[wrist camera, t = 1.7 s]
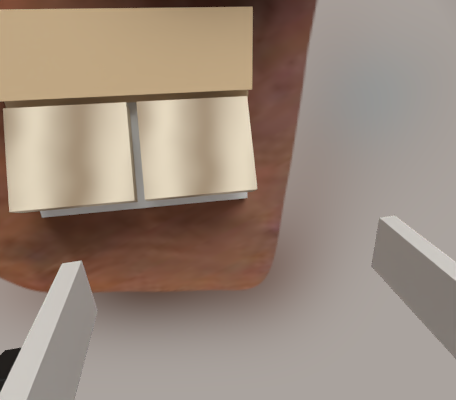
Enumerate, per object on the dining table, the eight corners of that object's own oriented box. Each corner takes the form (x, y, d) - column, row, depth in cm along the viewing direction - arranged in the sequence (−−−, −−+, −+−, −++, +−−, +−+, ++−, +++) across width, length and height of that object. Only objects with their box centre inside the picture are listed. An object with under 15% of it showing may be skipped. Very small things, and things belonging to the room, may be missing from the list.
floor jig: (44, 213, 32) (35, 227, 29) (-17, 13, 24) (-37, 10, 22) (245, 194, 35) (251, 205, 32) (245, 9, 27) (252, 6, 25)
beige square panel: (147, 201, 28) (144, 199, 26) (139, 109, 28) (136, 101, 26) (252, 191, 29) (257, 189, 27) (243, 103, 30) (247, 96, 28)
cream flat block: (21, 212, 26) (9, 211, 25) (14, 116, 27) (3, 108, 25) (137, 202, 28) (134, 200, 26) (129, 109, 28) (126, 102, 26)
